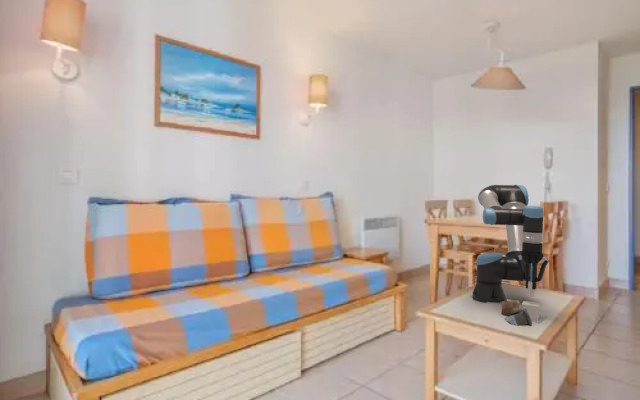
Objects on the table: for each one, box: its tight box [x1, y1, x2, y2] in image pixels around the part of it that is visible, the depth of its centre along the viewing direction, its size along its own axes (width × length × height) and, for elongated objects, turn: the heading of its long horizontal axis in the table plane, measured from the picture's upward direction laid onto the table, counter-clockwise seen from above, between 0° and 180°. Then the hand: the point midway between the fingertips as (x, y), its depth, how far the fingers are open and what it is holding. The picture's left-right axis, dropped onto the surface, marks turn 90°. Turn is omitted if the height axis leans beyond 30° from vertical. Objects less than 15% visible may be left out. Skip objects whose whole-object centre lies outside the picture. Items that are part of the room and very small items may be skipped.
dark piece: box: [503, 308, 533, 327], centre depth 153 cm, size 10×7×12 cm
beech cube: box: [506, 298, 520, 311], centre depth 168 cm, size 5×5×5 cm
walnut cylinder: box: [501, 300, 513, 317], centre depth 162 cm, size 4×4×6 cm
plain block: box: [521, 300, 541, 321], centre depth 159 cm, size 6×6×6 cm
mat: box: [531, 315, 547, 324], centre depth 159 cm, size 10×10×1 cm
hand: (530, 296), depth 159 cm, fingers closed
